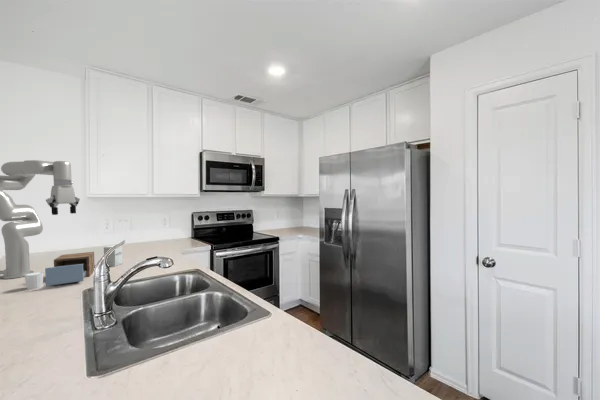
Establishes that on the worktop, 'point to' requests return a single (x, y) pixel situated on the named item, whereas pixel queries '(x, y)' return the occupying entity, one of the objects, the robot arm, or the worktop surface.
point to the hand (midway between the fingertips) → (64, 214)
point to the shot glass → (34, 280)
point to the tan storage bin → (77, 261)
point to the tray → (64, 274)
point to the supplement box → (114, 256)
